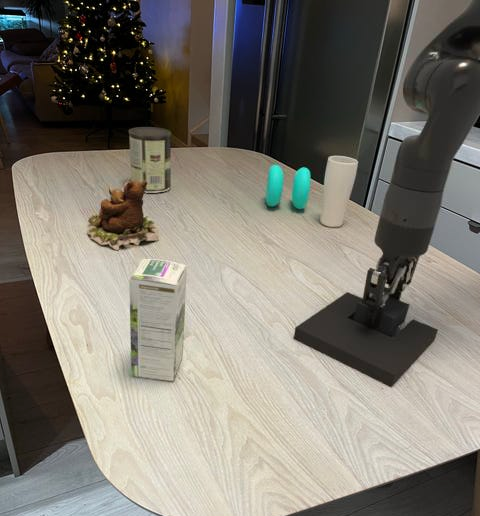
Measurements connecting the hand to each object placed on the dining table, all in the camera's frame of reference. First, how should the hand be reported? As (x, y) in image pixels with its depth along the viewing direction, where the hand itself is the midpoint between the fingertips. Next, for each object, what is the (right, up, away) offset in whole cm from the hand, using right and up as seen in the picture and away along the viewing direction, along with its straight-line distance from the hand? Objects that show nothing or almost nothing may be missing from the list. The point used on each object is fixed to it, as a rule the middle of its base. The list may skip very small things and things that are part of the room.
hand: (380, 317), depth 78 cm
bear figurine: (-46, +17, +25) cm, 55 cm away
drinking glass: (0, +22, +40) cm, 45 cm away
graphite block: (0, -1, 0) cm, 1 cm away
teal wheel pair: (-11, +28, +47) cm, 56 cm away
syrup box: (-33, -7, -11) cm, 36 cm away
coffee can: (-45, +34, +51) cm, 76 cm away
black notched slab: (-3, -3, -2) cm, 5 cm away
